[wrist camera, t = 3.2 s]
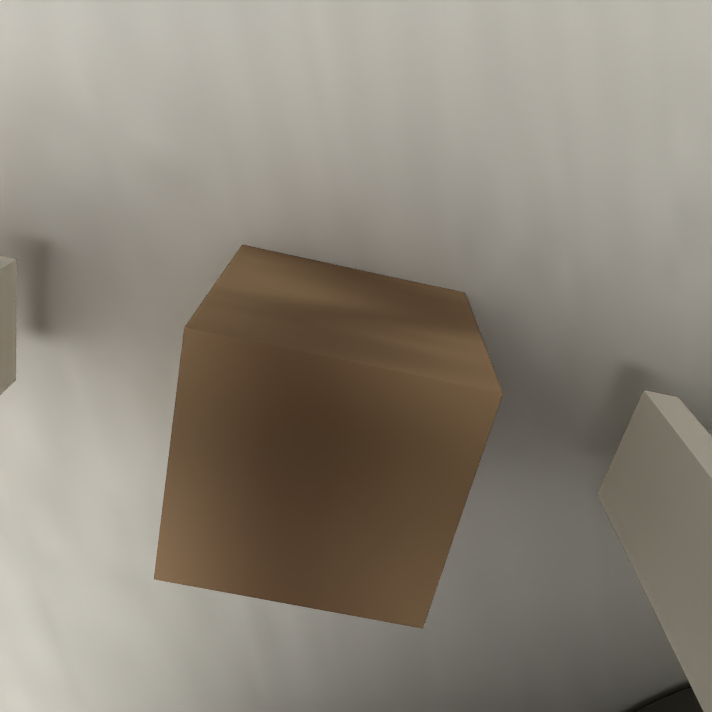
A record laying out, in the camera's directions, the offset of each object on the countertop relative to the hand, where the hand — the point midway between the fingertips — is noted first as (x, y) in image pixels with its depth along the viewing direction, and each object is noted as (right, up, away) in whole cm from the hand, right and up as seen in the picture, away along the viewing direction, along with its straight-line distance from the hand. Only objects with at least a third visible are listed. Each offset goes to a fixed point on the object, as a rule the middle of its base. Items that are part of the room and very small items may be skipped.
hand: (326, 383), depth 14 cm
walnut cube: (0, 0, +2) cm, 2 cm away
